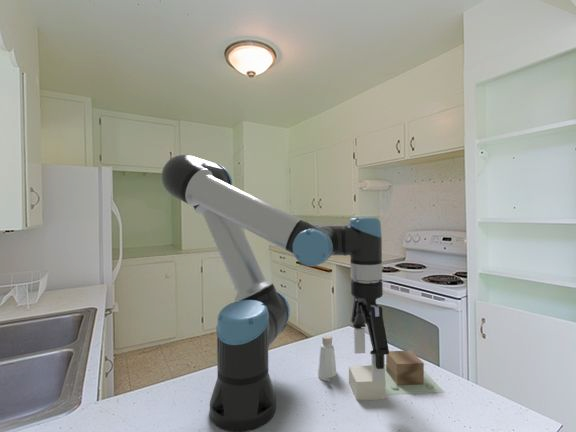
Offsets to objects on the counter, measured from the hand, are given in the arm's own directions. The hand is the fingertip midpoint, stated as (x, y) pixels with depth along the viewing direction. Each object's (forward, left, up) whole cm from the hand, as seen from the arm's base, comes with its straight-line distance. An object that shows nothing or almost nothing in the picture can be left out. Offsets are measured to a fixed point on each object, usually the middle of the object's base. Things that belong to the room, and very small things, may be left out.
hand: (368, 365), depth 74 cm
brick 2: (+12, +5, -6) cm, 14 cm away
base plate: (+12, +5, -7) cm, 15 cm away
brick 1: (0, 0, -8) cm, 8 cm away
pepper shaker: (-8, +9, -8) cm, 15 cm away
